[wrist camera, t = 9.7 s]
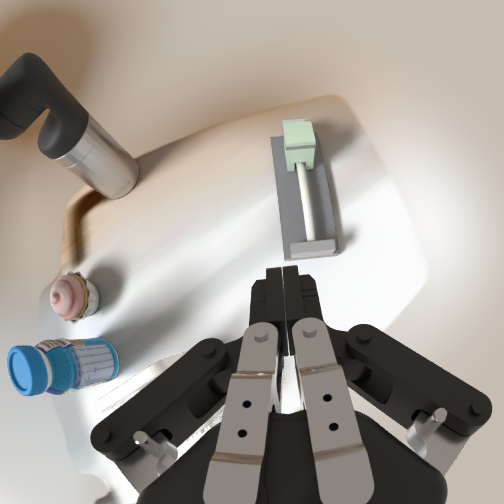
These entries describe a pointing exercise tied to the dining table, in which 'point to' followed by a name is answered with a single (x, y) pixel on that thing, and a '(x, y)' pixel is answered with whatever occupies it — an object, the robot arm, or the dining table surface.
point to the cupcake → (74, 297)
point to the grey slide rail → (304, 205)
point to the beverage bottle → (62, 365)
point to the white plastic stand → (139, 382)
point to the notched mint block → (299, 144)
